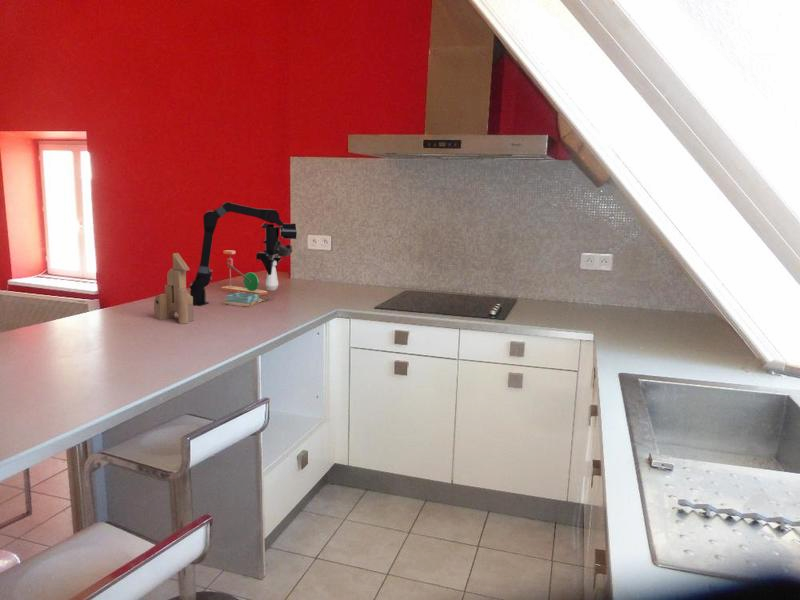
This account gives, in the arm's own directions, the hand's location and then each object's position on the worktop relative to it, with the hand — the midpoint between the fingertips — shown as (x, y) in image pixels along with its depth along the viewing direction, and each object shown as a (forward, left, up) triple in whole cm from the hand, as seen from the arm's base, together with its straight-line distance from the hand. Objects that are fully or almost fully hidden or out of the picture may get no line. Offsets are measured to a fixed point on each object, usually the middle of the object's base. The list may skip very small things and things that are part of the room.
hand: (271, 274), depth 254 cm
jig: (-4, +11, -13) cm, 17 cm away
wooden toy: (-46, +17, -13) cm, 50 cm away
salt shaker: (0, 0, -7) cm, 7 cm away
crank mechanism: (+20, +25, -13) cm, 34 cm away
